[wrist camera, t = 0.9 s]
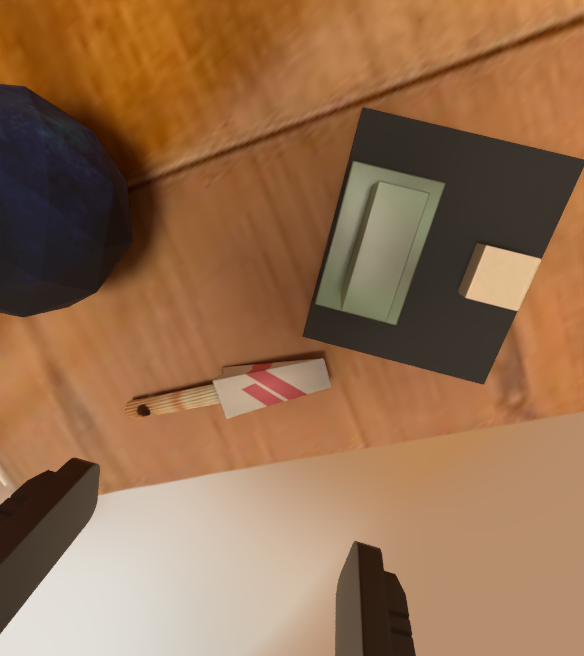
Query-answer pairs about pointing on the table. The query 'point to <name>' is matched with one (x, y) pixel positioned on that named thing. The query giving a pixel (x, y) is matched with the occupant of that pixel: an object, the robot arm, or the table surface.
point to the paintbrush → (241, 389)
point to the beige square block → (498, 276)
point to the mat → (452, 240)
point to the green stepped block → (377, 241)
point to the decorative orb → (55, 207)
